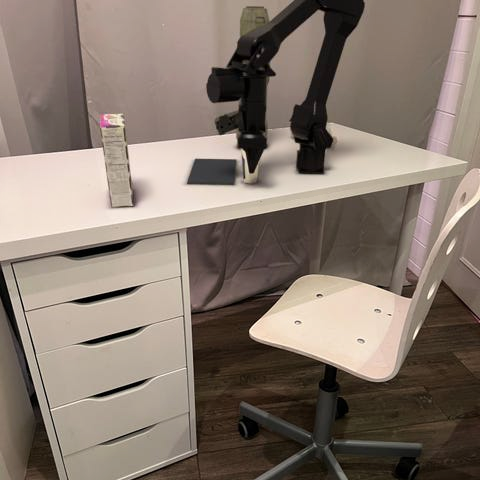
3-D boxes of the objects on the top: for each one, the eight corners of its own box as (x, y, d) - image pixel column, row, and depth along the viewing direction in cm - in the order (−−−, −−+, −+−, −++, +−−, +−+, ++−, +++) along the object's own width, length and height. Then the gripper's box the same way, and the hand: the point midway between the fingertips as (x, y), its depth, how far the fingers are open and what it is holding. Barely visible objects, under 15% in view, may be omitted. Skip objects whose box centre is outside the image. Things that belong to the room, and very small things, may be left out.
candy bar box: (109, 191, 116) (99, 113, 107) (132, 190, 117) (124, 113, 108) (109, 208, 107) (99, 125, 98) (134, 207, 108) (125, 124, 99)
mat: (236, 161, 138) (236, 159, 137) (234, 185, 121) (234, 182, 121) (195, 160, 138) (195, 158, 138) (187, 184, 121) (187, 181, 121)
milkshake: (265, 180, 124) (267, 137, 119) (250, 185, 120) (251, 140, 115) (251, 177, 126) (252, 134, 121) (236, 181, 123) (236, 137, 118)
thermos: (249, 154, 144) (252, 7, 125) (228, 144, 153) (228, 5, 134) (275, 150, 148) (282, 7, 129) (253, 141, 157) (257, 6, 138)
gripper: (218, 92, 122) (219, 159, 130) (213, 106, 106) (214, 182, 114) (266, 93, 122) (263, 160, 130) (268, 107, 106) (265, 183, 114)
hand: (251, 170), depth 122 cm, fingers closed on milkshake, 4 cm apart
